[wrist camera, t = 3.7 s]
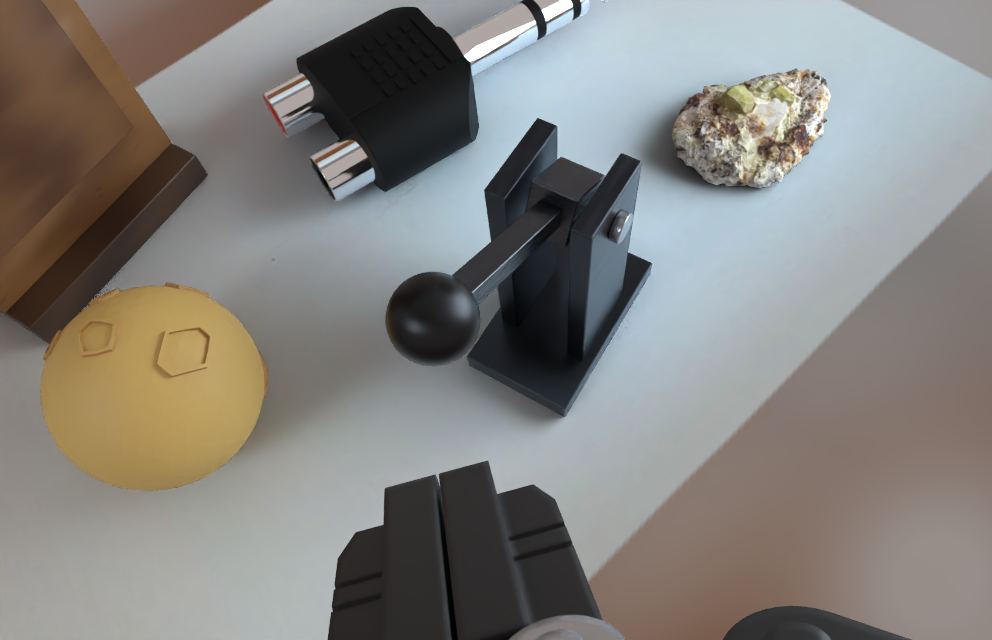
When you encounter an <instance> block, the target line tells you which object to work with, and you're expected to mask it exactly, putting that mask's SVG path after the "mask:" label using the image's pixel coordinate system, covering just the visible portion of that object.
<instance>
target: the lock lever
mask: <svg viewBox="0 0 992 640" xmlns="http://www.w3.org/2000/svg"><path fill="white" fill-rule="evenodd" d="M604 178H605V175H603V174H601V173H598V172H596V171H594V170H591V169H589V168H586V167H584V166H582V165H579V164H577V163H575V162H572V161H570V160H568V159H565V158H563V157H560V158H559V159H558V160H556V161H555V162H554V163H553V164H551V165H550V166H549V167H548V168H546V169H545V170H544V171H543V172H542V173H540V174H539V175H538V176H537V177H535V178H534V179H533V180H532V181H531V185H530V190H529V195H528V199H527V204H526V208H525V213H524V214H523V215H522V216H521V217H520V218H518V219H517V220H516V221H515V222H514V223H513V224H511V225H510V226H509V227H508V228H507V229H506V230H504V231H503V232H502V233H501V234H500V235H499V236H497V237H496V238H495V239H494V240H493V241H492V242H490V243H489V244H488V245H487V246H486V247H485V248H483V249H482V250H481V251H480V252H479V253H478V254H476V255H475V256H474V257H473V258H472V259H471V260H469V261H468V262H467V263H466V264H465V265H464V266H463V267H461V268H460V269H459V270H458V271H457V272H456V273H454V274H453V275H452V276H451V275H448V274H445V273H440V272H426V273H421V274H417V275H415V276H413V277H411V278H409V279H407V280H406V281H404V282H403V283H402V284H401V285H400V286H399V287H398V288H397V289H396V290H395V292H394V293H393V295H392V296H391V298H390V300H389V303H388V306H387V310H386V329H387V333H388V336H389V338H390V340H391V342H392V344H393V345H394V347H395V348H396V350H397V351H398V352H399V353H400V354H401V355H403V356H404V357H405V358H407V359H408V360H410V361H412V362H414V363H416V364H419V365H423V366H431V367H434V366H442V365H447V364H450V363H452V362H454V361H456V360H458V359H459V358H461V357H462V356H463V355H464V354H466V353H467V352H468V350H469V349H470V348H471V347H472V345H473V344H474V342H475V340H476V338H477V335H478V332H479V328H480V310H479V306H478V304H479V303H480V302H481V301H482V300H484V299H485V298H486V297H487V296H488V295H489V294H490V293H491V292H492V291H493V290H494V289H495V288H496V287H497V286H498V285H499V284H500V283H501V282H502V281H503V280H505V279H506V278H507V277H508V276H509V275H510V274H511V273H512V272H513V271H514V270H515V269H516V268H517V267H518V266H519V265H520V264H521V263H522V262H523V261H524V260H526V259H527V258H528V257H529V256H530V255H531V254H532V253H533V252H534V251H535V250H536V249H537V248H538V247H539V246H540V245H541V244H542V243H543V242H544V241H546V240H549V241H551V242H553V243H556V244H558V245H560V246H562V247H564V248H565V247H567V246H568V245H569V244H570V230H571V228H572V226H573V225H574V223H575V222H576V220H577V219H578V217H579V216H580V214H581V213H582V211H583V210H584V208H585V207H586V205H587V204H588V202H589V201H590V199H591V197H592V196H593V194H594V193H595V191H596V190H597V188H598V187H599V185H600V184H601V182H602V181H603V179H604Z"/></svg>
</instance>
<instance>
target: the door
mask: <svg viewBox="0 0 992 640" xmlns="http://www.w3.org/2000/svg"><path fill="white" fill-rule="evenodd" d="M207 175H208V174H207V173H206V171H205V170H204V168H203V167H202V165H201V163H200V162H199V160H198V159H197V157H196V156H195V155H194V154H192V153H190V152H188V151H186V150H184V149H182V148H180V147H178V146H176V145H174V144H172V143H171V141H170V140H169V138H168V137H167V135H166V134H165V132H164V131H163V129H162V128H161V126H160V125H159V123H158V122H157V120H156V119H155V117H154V116H153V115H152V113H151V112H150V110H149V109H148V107H147V106H146V104H145V103H144V101H143V100H142V98H141V97H140V95H139V94H138V92H137V91H136V89H135V88H134V87H133V85H132V84H131V82H130V81H129V79H128V78H127V76H126V75H125V73H124V72H123V70H122V69H121V67H120V66H119V64H118V63H117V61H116V60H115V58H114V57H113V56H112V54H111V53H110V51H109V50H108V49H107V47H106V45H105V44H104V42H103V41H102V39H101V38H100V36H99V35H98V34H97V32H96V30H95V29H94V28H93V26H92V25H91V23H90V22H89V20H88V19H87V17H86V16H85V14H84V13H83V11H82V10H81V8H80V7H79V5H78V4H77V2H76V1H75V0H0V312H2V313H3V314H5V315H6V316H8V317H9V318H11V319H12V320H14V321H15V322H17V323H18V324H20V325H21V326H23V327H24V328H26V329H28V330H29V331H31V332H32V333H34V334H35V335H37V336H38V337H40V338H41V339H43V340H44V341H46V342H47V343H51V341H52V339H53V337H54V336H55V335H56V333H57V332H58V331H59V330H61V331H63V329H64V328H65V327H66V326H67V325H68V323H69V322H70V321H71V320H73V319H74V318H75V317H76V316H77V315H78V313H79V312H80V311H81V310H82V309H83V308H84V307H85V306H86V305H87V304H88V303H89V302H90V301H91V300H92V298H93V297H94V296H95V295H96V294H97V293H98V292H99V291H100V290H101V289H102V288H103V287H104V286H105V285H106V283H107V282H108V281H109V280H110V279H111V278H112V277H113V276H114V275H115V274H116V273H117V272H118V271H119V270H120V268H121V267H122V266H123V265H124V264H125V263H126V262H127V261H128V260H129V259H130V258H131V257H132V256H133V255H134V253H135V252H136V251H137V250H138V249H139V248H140V247H141V246H142V245H143V244H144V243H145V242H146V241H147V240H148V238H149V237H150V236H151V235H152V234H153V233H154V232H155V231H156V230H157V229H158V228H159V227H160V226H161V225H162V223H163V222H164V221H165V220H166V219H167V218H168V217H169V216H170V215H171V214H172V213H173V212H174V211H175V210H176V208H177V207H178V206H179V205H180V204H181V203H182V202H183V201H184V200H185V199H186V198H187V197H188V196H189V195H190V193H191V192H192V191H193V190H194V189H195V188H196V187H197V186H198V185H199V184H200V183H201V182H202V181H203V180H204V178H205V177H206V176H207Z"/></svg>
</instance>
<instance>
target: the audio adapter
mask: <svg viewBox="0 0 992 640" xmlns="http://www.w3.org/2000/svg"><path fill="white" fill-rule="evenodd" d="M599 1H600V2H604V3H605V2H607V1H609V0H599ZM590 4H591V0H523V1H521V2H518V3H516V4H514V5H512V6H511V7H509V8H507V9H505V10H503V11H501V12H499V13H498V14H496V15H494V16H492V17H490V18H488V19H487V20H485V21H483V22H481V23H479V24H477V25H475V26H474V27H472V28H470V29H468V30H466V31H464V32H463V33H461V34H459V35H457V36H455V37H453V38H452V37H451V36H450V35H449V34H448V33H447V32H446V31H445V30H444V29H443V28H441V27H436V26H435V25H434V24H433V23H432V22H431V21H430V20H429V19H428V18H427V17H426V16H425V15H424V14H423V13H422V12H421V11H420V10H419V9H418V8H415V7H400V8H395V9H391V10H389V11H387V12H385V13H383V14H381V15H379V16H377V17H375V18H373V19H371V20H369V21H367V22H366V23H364V24H362V25H360V26H358V27H356V28H354V29H352V30H350V31H348V32H346V33H344V34H343V35H341V36H339V37H337V38H335V39H333V40H331V41H329V42H327V43H325V44H323V45H321V46H320V47H318V48H316V49H314V50H312V51H310V52H308V53H306V54H304V55H302V56H300V57H298V58H297V67H298V70H299V74H297V75H295V76H294V77H292V78H290V79H288V80H286V81H284V82H282V83H280V84H278V85H276V86H275V87H273V88H271V89H269V90H267V91H265V92H263V93H262V96H263V99H264V101H265V103H266V105H267V107H268V109H269V111H270V113H271V114H272V116H273V118H274V119H275V121H276V123H277V124H278V126H279V127H280V129H281V130H282V132H283V133H284V135H285V136H286V137H287V138H289V137H291V136H293V135H295V134H297V133H299V132H300V131H302V130H304V129H306V128H308V127H310V126H311V125H313V124H315V123H317V122H319V121H321V120H322V119H325V120H326V122H327V123H328V124H329V126H330V127H331V128H332V129H333V131H334V132H335V133H336V134H337V136H338V137H339V138H340V139H339V140H338V141H336V142H334V143H332V144H330V145H329V146H327V147H325V148H323V149H321V150H320V151H318V152H316V153H314V154H312V155H311V156H309V160H310V163H311V165H312V167H313V169H314V171H315V173H316V175H317V177H318V178H319V180H320V182H321V183H322V185H323V186H324V188H325V190H326V191H327V192H328V194H329V196H330V197H331V198H332V199H333V200H334V201H335V202H338V201H340V200H341V199H343V198H345V197H346V196H348V195H350V194H352V193H353V192H355V191H357V190H359V189H360V188H362V187H364V186H366V185H367V184H369V183H371V182H374V183H375V184H376V185H377V186H378V187H379V188H380V189H381V190H383V191H385V192H386V191H388V190H390V189H391V188H393V187H395V186H397V185H398V184H400V183H402V182H404V181H405V180H407V179H409V178H410V177H412V176H414V175H416V174H417V173H419V172H421V171H422V170H424V169H426V168H428V167H429V166H431V165H433V164H435V163H436V162H438V161H440V160H441V159H443V158H445V157H447V156H448V155H450V154H452V153H453V152H455V151H457V150H459V149H460V148H462V147H464V146H466V145H467V144H469V143H471V142H472V141H474V140H475V139H476V136H477V133H478V128H479V123H478V116H477V108H476V101H475V94H474V85H473V79H472V77H473V76H475V75H477V74H479V73H481V72H482V71H484V70H486V69H488V68H490V67H491V66H493V65H495V64H497V63H499V62H500V61H502V60H504V59H506V58H507V57H509V56H511V55H513V54H515V53H516V52H518V51H520V50H522V49H524V48H525V47H527V46H529V45H531V44H533V43H534V42H536V41H537V40H538V39H540V38H542V37H545V36H547V35H549V34H550V33H552V32H554V31H556V30H558V29H559V28H561V27H563V26H565V25H566V24H568V23H570V22H571V21H572V20H574V19H577V18H579V17H581V16H583V15H584V14H586V13H587V12H588V10H589V9H590Z"/></svg>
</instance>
